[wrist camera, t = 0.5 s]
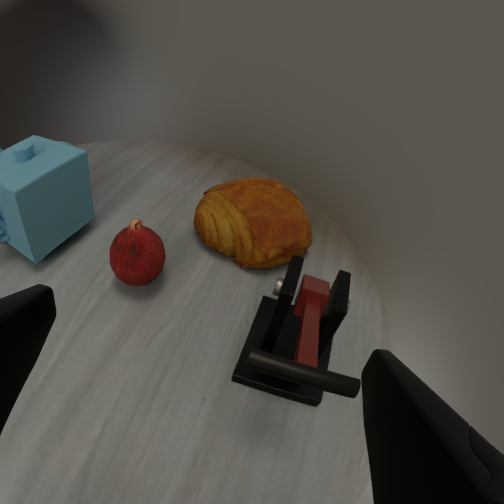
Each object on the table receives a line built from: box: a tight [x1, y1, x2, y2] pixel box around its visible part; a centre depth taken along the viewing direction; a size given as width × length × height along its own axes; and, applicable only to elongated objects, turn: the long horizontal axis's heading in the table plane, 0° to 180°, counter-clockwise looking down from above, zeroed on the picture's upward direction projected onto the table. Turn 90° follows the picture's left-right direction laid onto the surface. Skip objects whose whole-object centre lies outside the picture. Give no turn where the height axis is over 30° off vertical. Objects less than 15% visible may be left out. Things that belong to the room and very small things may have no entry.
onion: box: [110, 219, 166, 286], centre depth 31 cm, size 6×6×8 cm
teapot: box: [0, 135, 95, 264], centre depth 33 cm, size 18×16×13 cm
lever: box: [245, 275, 361, 398], centre depth 21 cm, size 12×6×2 cm, turn 163°
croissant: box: [194, 178, 312, 269], centre depth 41 cm, size 14×16×8 cm
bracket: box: [232, 255, 351, 407], centre depth 27 cm, size 10×8×10 cm
